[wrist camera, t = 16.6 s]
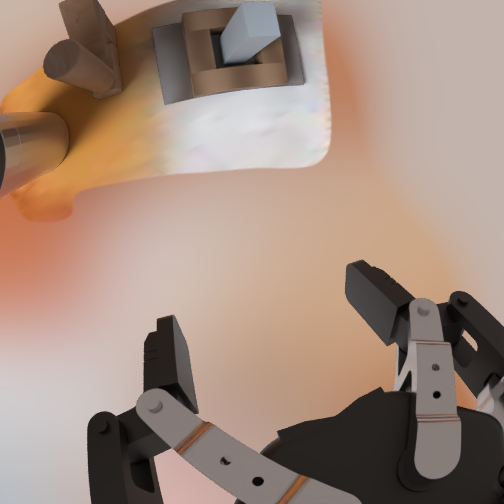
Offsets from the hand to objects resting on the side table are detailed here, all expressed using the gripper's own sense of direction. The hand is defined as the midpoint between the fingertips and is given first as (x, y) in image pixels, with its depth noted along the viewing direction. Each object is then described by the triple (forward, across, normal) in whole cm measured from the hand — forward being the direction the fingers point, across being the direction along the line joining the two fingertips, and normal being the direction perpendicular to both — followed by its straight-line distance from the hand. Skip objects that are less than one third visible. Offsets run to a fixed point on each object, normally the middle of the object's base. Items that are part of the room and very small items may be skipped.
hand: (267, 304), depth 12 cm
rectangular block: (+29, -7, -17) cm, 34 cm away
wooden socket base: (+30, -7, -17) cm, 35 cm away
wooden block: (+30, +10, -20) cm, 38 cm away
